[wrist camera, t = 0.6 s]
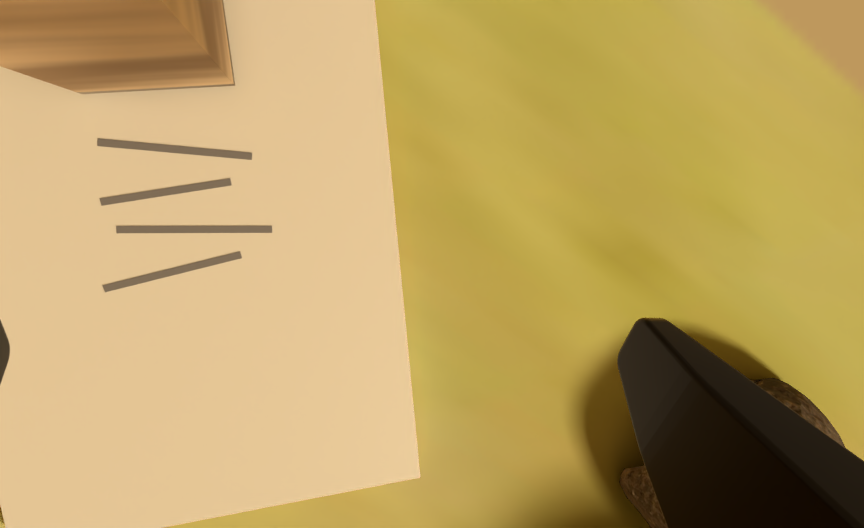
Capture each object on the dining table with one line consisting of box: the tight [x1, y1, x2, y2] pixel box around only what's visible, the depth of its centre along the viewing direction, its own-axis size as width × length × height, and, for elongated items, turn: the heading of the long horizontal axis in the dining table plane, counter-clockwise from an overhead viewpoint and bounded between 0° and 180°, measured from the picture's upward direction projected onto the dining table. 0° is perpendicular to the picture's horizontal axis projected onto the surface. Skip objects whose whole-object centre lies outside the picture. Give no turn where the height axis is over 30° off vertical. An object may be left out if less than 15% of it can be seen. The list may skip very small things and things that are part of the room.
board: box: [0, 0, 420, 528], centre depth 19 cm, size 22×14×1 cm, turn 5°
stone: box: [620, 378, 845, 528], centre depth 24 cm, size 10×8×10 cm
